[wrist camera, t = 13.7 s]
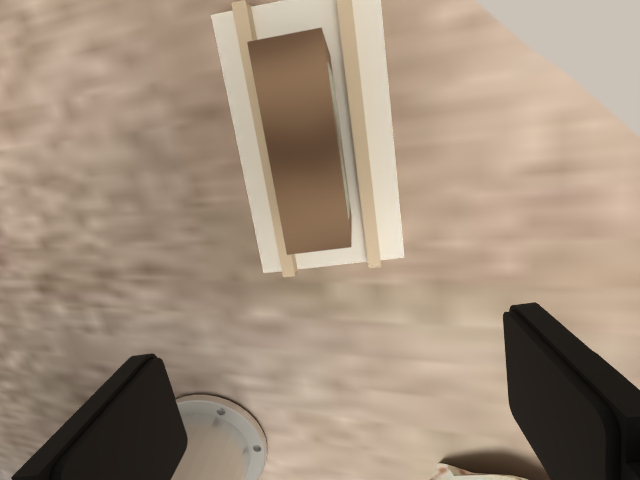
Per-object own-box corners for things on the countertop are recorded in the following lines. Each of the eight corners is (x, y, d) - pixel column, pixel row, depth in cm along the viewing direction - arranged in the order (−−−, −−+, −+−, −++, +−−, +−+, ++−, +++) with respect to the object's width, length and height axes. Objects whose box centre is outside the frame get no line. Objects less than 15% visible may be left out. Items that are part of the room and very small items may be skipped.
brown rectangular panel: (352, 216, 30) (352, 247, 23) (302, 223, 31) (286, 255, 23) (330, 55, 27) (322, 27, 19) (275, 65, 27) (246, 41, 20)
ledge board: (402, 251, 32) (406, 263, 29) (267, 267, 34) (259, 279, 31) (377, -12, 27) (380, -28, 24) (218, 20, 28) (202, 8, 25)
